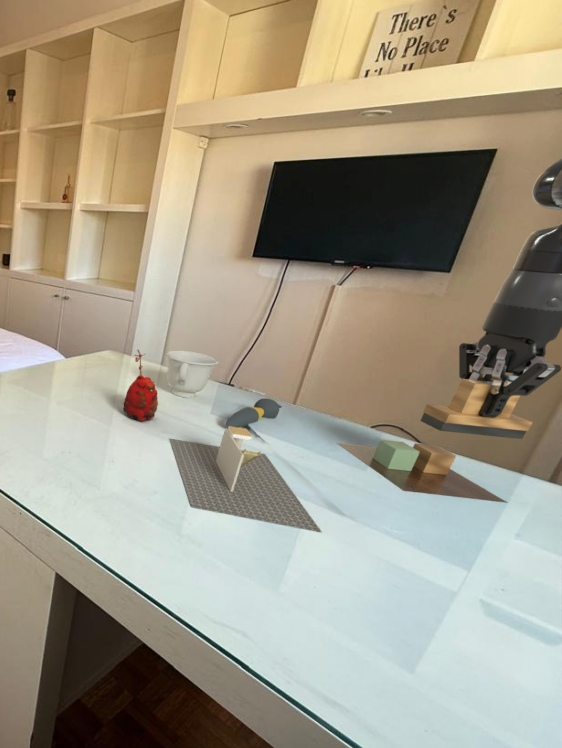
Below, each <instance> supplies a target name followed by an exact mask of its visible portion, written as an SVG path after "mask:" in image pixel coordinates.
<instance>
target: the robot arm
mask: <svg viewBox="0 0 562 748" xmlns="http://www.w3.org/2000/svg"><path fill="white" fill-rule="evenodd" d="M531 196H532V200H533V201H534V202H535V204H536V205H538V206H540V207H542V208H545V209H549V210H556V211H559V210H561V211H562V157H561V158H560V159H557V161H556V160H555V162H553V163H551V164H550V165H549V166H548V167H547V168H545V169H544V170H543V171H542V172H541V173H540V174H539V176H538V177H537V178H536V180H535V181H534V183H533V185H532V188H531ZM481 330H482V331H484V332H485V333H484V335H483V336H482V337H480V339H479V340H478V341H476V342H472V343H470V342H469V343H467V342H463V343H460V344H459V347H458V364H459V368H458V369H459V371H458V373H459V374H458V376H459V378H460V380H461V379H469V380H480V381H490V382H493V384H492V386H491V389H490V392H491V393H488V395H487V397H486V399H485V401H484V403H483V405H482V407H481V409H480V411H479V415H481V416H483V417H491V418H495V417H497V416H499V415H500V414H501V413H502V411H503V409H504V407H505V405H506V403H507V401H508V399H509V398H510V397H511V396H520V397H527V396H529V395H531V394H532V393H533V392H534V391H536V390H537V389H539V388H540V387H541V386H542V385H544V384H545V383H547V382H548V381H549V380H550V379H552V378H553V377H555V376H556V375H557V374H558V373H560V371H562V367H561V365H559V364H555V363H551V362H550V361H548V360H547V359H546V358H545V356H546V351H547V350H546V348H547V344H549V343H550V342H551V341H554V340H556V339H557V338H558V336H559V335H560V332H561V331H562V222H560V223H559V224H556V225H553V226H549V227H544V228H540V229H537V230H534V231H532V232H531V233H530V234H529V235H528V236H527V237H526V238H525V240H524V242H523V244H522V246H521V248H520V251H519V253H518V255H517V257H516V259H515V261H514V264H513V266H512V268H511V269H510V271H509V273H508V275H507V276H506V278H505V279H504V281H503V282H502V283H501V286H500V288H499V289H498V291H497V294H496V296H495V298H494V301H493V303H492V304H491V307H490V309H489V311H488V313H487V315H486V317H485V320H484V322H483V324H482V326H481ZM470 367H471V369H470ZM470 370H471V371H470ZM504 383H507V384H506V387H503V386H504Z"/></svg>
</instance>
